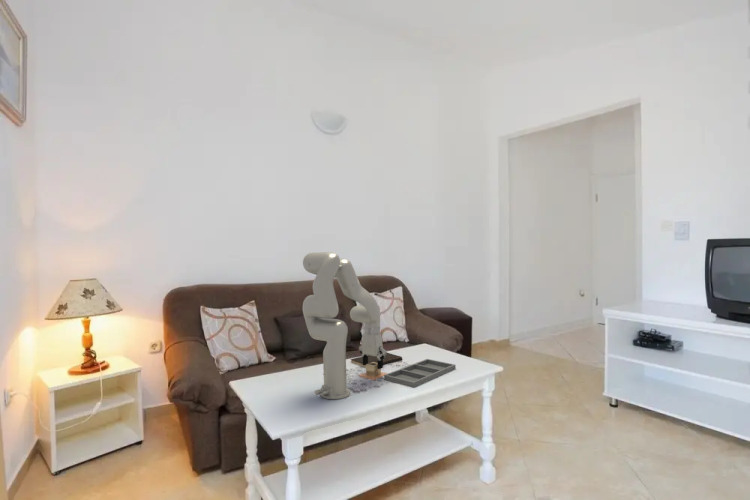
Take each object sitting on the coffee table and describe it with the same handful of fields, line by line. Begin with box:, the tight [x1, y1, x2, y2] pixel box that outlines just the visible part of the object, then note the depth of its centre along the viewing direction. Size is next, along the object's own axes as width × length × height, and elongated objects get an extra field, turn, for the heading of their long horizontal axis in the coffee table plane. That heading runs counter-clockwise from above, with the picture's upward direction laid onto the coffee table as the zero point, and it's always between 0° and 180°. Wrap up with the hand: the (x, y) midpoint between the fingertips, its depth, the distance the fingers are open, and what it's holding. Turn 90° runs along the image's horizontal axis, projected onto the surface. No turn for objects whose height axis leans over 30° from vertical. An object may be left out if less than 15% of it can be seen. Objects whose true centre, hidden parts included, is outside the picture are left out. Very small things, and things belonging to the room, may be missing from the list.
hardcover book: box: [350, 352, 403, 369], centre depth 222 cm, size 16×23×2 cm
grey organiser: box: [383, 358, 457, 389], centre depth 197 cm, size 34×17×2 cm, turn 137°
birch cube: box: [365, 362, 382, 377], centre depth 197 cm, size 5×5×5 cm
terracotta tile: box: [358, 371, 388, 381], centre depth 197 cm, size 10×10×1 cm
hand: (372, 366), depth 197 cm, fingers open, 9 cm apart
